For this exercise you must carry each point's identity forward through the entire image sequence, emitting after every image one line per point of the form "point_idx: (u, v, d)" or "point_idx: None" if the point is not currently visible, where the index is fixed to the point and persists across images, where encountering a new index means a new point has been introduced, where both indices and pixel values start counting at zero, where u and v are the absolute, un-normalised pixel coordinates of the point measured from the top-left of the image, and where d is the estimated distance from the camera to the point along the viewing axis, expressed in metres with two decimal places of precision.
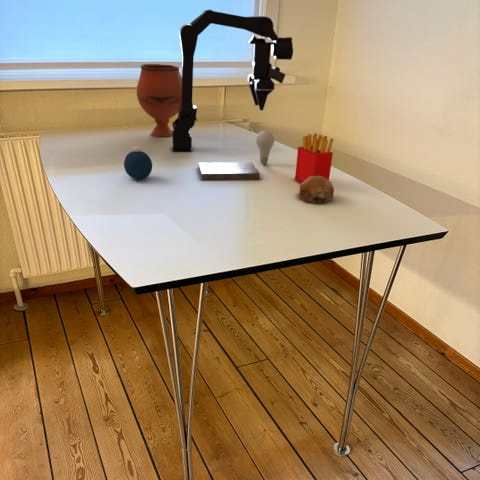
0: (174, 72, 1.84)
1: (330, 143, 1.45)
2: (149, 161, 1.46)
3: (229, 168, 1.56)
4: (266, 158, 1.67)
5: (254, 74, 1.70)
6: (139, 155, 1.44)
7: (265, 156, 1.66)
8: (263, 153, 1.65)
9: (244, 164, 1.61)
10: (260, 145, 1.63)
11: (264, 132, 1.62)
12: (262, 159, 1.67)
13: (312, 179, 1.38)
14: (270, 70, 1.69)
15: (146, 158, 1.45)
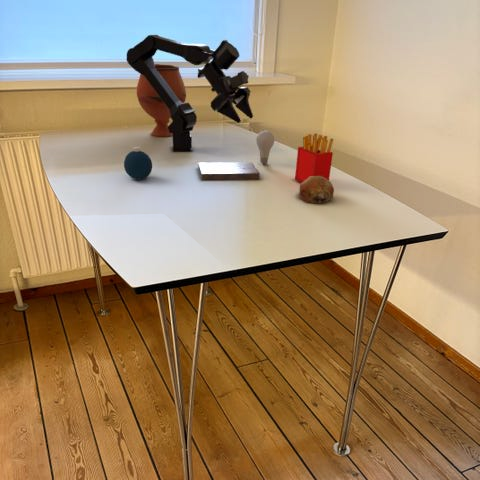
0: (174, 72, 1.84)
1: (330, 143, 1.45)
2: (149, 161, 1.46)
3: (229, 168, 1.56)
4: (266, 158, 1.67)
5: None
6: (139, 155, 1.44)
7: (265, 156, 1.66)
8: (263, 153, 1.65)
9: (244, 164, 1.61)
10: (260, 145, 1.63)
11: (264, 132, 1.62)
12: (262, 159, 1.67)
13: (312, 179, 1.38)
14: (225, 83, 1.59)
15: (146, 158, 1.45)
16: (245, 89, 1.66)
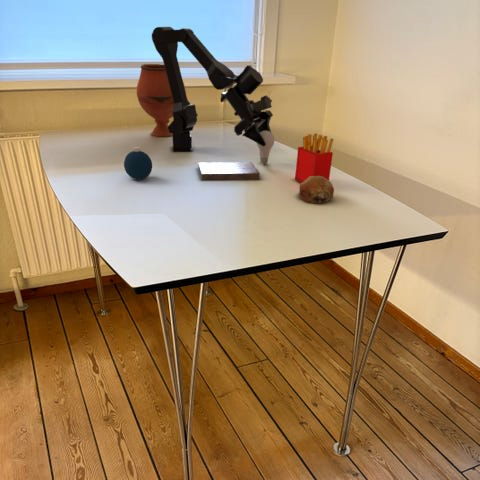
0: None
1: (330, 143, 1.45)
2: (149, 161, 1.46)
3: (229, 168, 1.56)
4: (266, 158, 1.67)
5: None
6: (139, 155, 1.44)
7: (265, 156, 1.66)
8: (263, 153, 1.65)
9: (244, 164, 1.61)
10: (260, 145, 1.63)
11: (264, 132, 1.62)
12: (262, 159, 1.67)
13: (312, 179, 1.38)
14: (248, 107, 1.59)
15: (146, 158, 1.45)
16: (268, 113, 1.66)
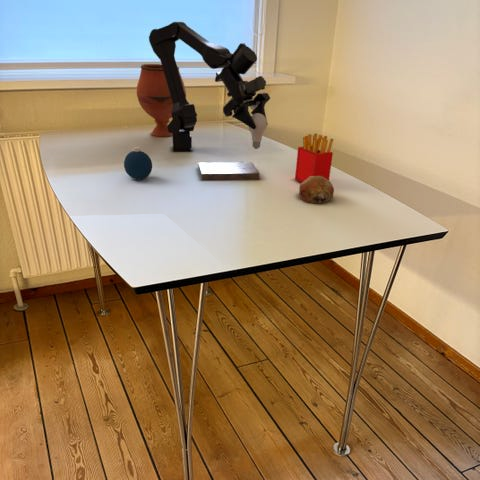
0: None
1: (330, 143, 1.45)
2: (149, 161, 1.46)
3: (229, 168, 1.56)
4: (258, 142, 1.60)
5: None
6: (139, 155, 1.44)
7: (257, 140, 1.59)
8: (255, 137, 1.58)
9: (244, 164, 1.61)
10: (251, 128, 1.56)
11: (256, 114, 1.55)
12: (254, 143, 1.60)
13: (312, 179, 1.38)
14: (240, 88, 1.53)
15: (146, 158, 1.45)
16: (264, 95, 1.59)
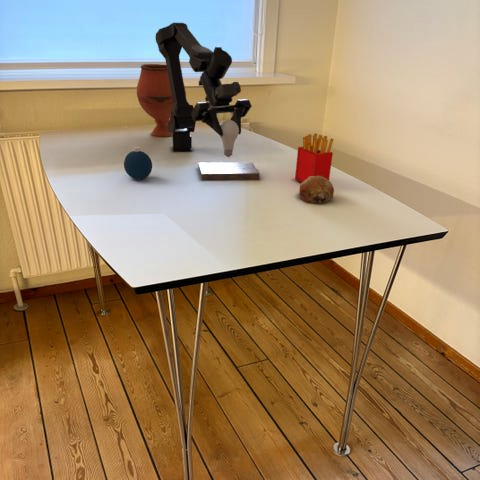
0: None
1: (330, 143, 1.45)
2: (149, 161, 1.46)
3: (229, 168, 1.56)
4: (228, 150, 1.53)
5: None
6: (139, 155, 1.44)
7: (226, 148, 1.52)
8: (224, 144, 1.52)
9: (244, 164, 1.61)
10: None
11: (225, 121, 1.49)
12: (224, 151, 1.53)
13: (312, 179, 1.38)
14: (212, 93, 1.48)
15: (146, 158, 1.45)
16: (243, 102, 1.51)
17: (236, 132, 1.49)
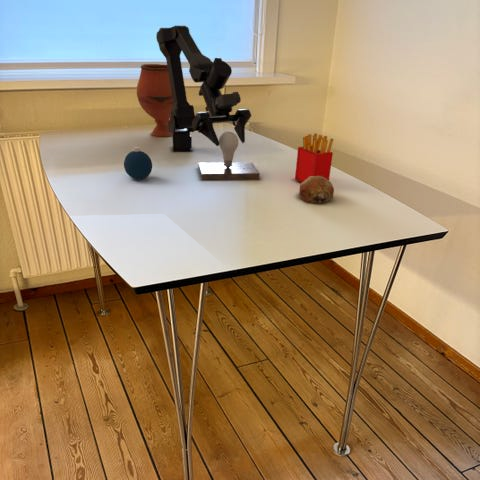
0: None
1: (330, 143, 1.45)
2: (149, 161, 1.46)
3: (229, 168, 1.56)
4: (228, 161, 1.55)
5: None
6: (139, 155, 1.44)
7: (226, 159, 1.54)
8: (224, 155, 1.54)
9: (244, 164, 1.61)
10: None
11: (225, 133, 1.50)
12: (224, 162, 1.55)
13: (312, 179, 1.38)
14: (213, 103, 1.49)
15: (146, 158, 1.45)
16: (243, 111, 1.53)
17: (236, 143, 1.51)
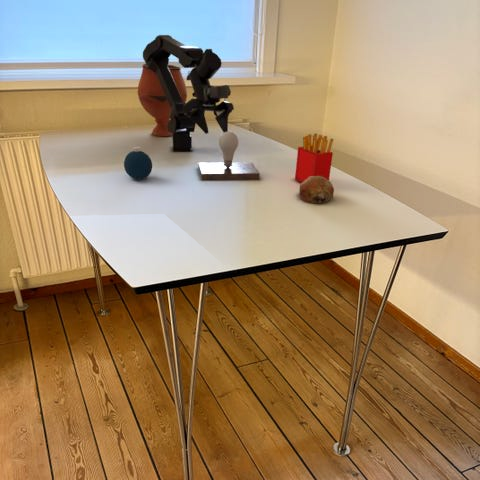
0: (176, 72, 1.84)
1: (330, 143, 1.45)
2: (149, 161, 1.46)
3: (229, 168, 1.56)
4: (228, 161, 1.55)
5: None
6: (139, 155, 1.44)
7: (226, 159, 1.54)
8: (224, 155, 1.54)
9: (244, 164, 1.61)
10: None
11: (225, 133, 1.50)
12: (224, 162, 1.55)
13: (312, 179, 1.38)
14: (204, 91, 1.56)
15: (146, 158, 1.45)
16: (228, 104, 1.62)
17: (235, 143, 1.51)
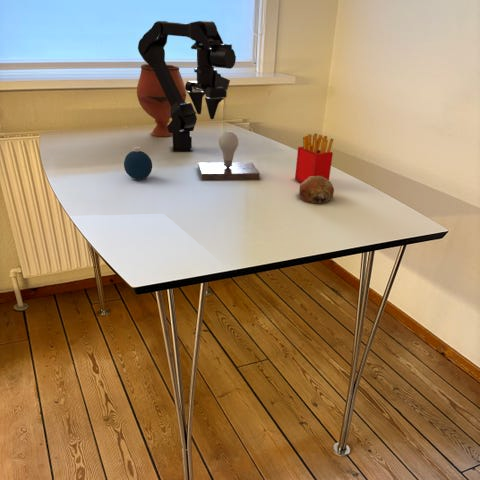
0: (174, 72, 1.84)
1: (330, 143, 1.45)
2: (149, 161, 1.46)
3: (229, 168, 1.56)
4: (228, 161, 1.55)
5: (200, 82, 1.61)
6: (139, 155, 1.44)
7: (226, 159, 1.54)
8: (224, 155, 1.54)
9: (244, 164, 1.61)
10: None
11: (225, 133, 1.50)
12: (224, 162, 1.55)
13: (312, 179, 1.38)
14: (216, 77, 1.61)
15: (146, 158, 1.45)
16: None
17: (235, 143, 1.51)
